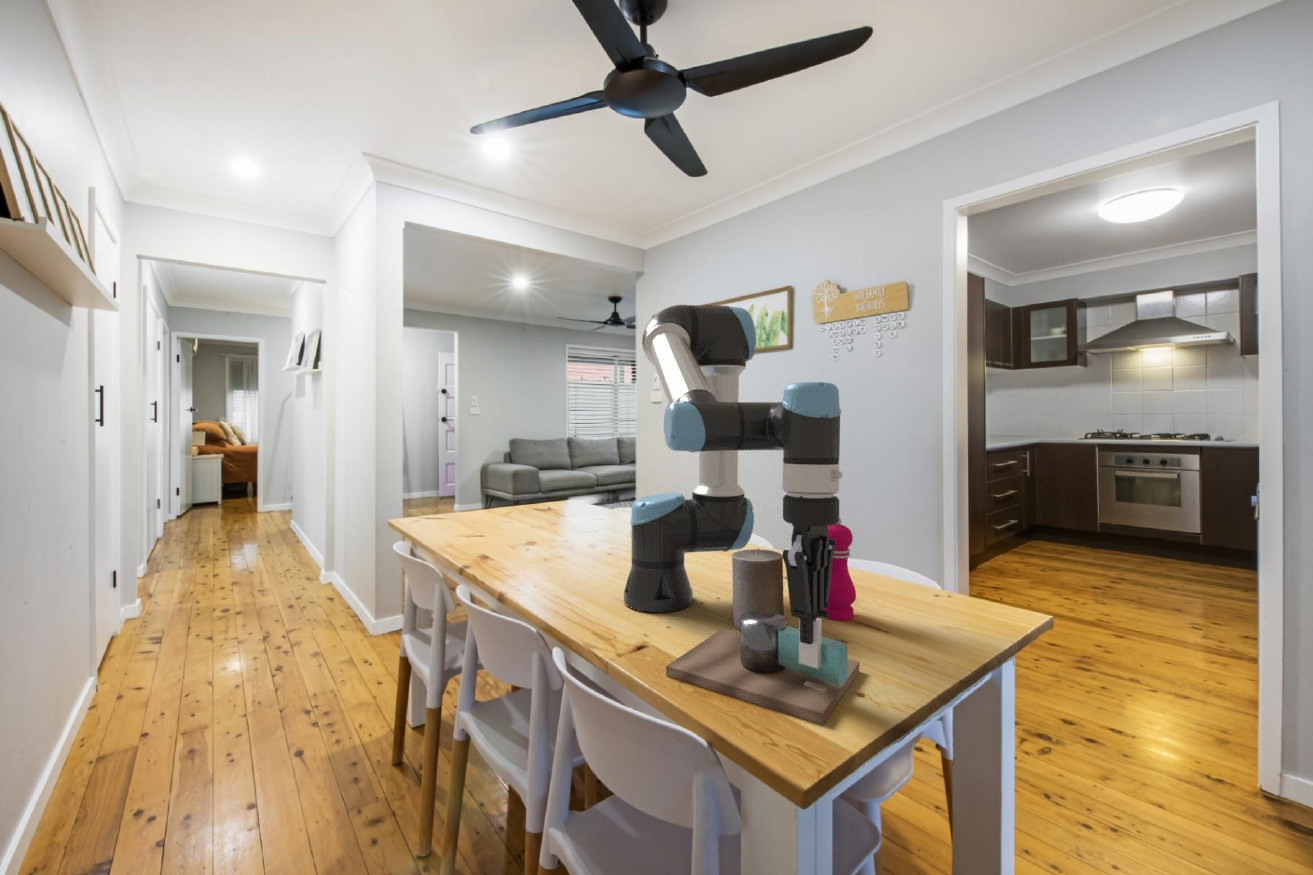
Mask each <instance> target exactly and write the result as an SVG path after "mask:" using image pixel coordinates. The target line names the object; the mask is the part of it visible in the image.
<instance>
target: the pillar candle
mask: <svg viewBox="0 0 1313 875" xmlns="http://www.w3.org/2000/svg"><path fill="white" fill-rule="evenodd" d="M782 554H783V553H782ZM782 554H781V553H780V552H778V551H775V550H769V549H760V548H759V547H758V548H756V549H754V548H753V549H743V550H738V551H734V552H733V553H732V554H731V558H732V559H731V562H732V565H731V566H732V609H733V612H732V613H733V625H734V627H735V628H736V629H737V630H738V631H740V616H741V615H742V614H744V613H746V612H751V611H768V612H774V613H777V614H780V615H782V616H784V614H785V612H784V611H785V609H784V568H783V567H784V566H783V565H784V560H783V556H782ZM784 617H785V616H784Z"/></svg>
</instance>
